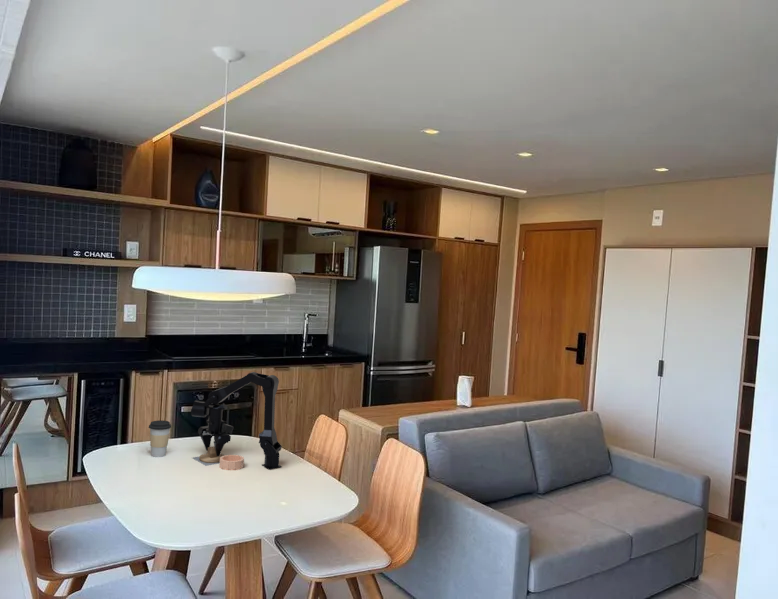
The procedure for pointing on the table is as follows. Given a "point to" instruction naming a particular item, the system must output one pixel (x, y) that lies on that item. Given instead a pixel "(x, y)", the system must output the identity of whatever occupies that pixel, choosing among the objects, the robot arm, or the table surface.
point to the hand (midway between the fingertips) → (212, 453)
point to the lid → (210, 456)
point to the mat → (203, 462)
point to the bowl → (231, 462)
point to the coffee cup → (159, 437)
